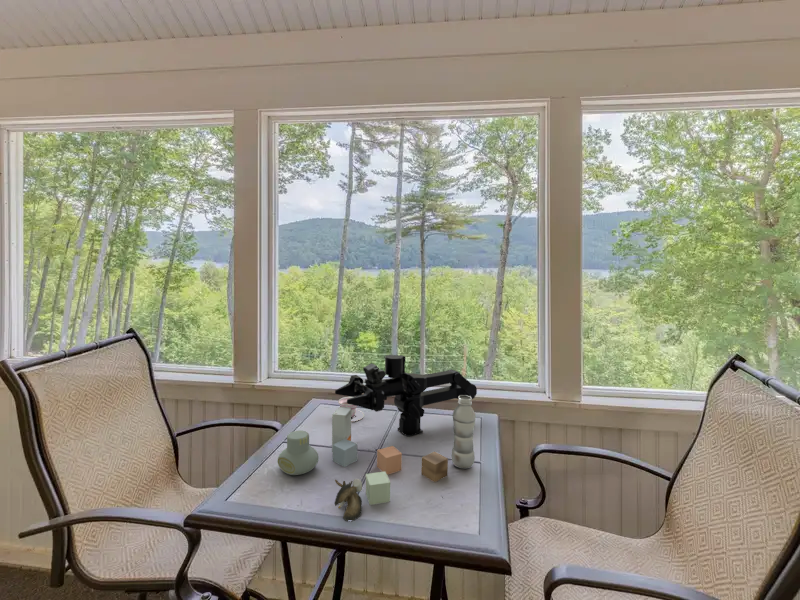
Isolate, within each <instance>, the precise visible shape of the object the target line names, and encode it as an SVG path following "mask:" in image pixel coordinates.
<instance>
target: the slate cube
mask: <svg viewBox="0 0 800 600" xmlns="http://www.w3.org/2000/svg"><path fill="white" fill-rule="evenodd" d="M356 461H358V443H356V442H354V441H352V440H351V441H349V440H347V439H344V440H342V441H340V442H338V443H335V444H333V452H332V462H334V463H336V464H337V465H340V466H341V467H345V468H346V467H347V466H350V465H351V464H353V463H355V462H356Z"/></svg>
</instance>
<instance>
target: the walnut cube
mask: <svg viewBox="0 0 800 600" xmlns="http://www.w3.org/2000/svg"><path fill="white" fill-rule="evenodd" d="M448 469H449V458H448V457H447V456H445V455H442V454H441V453H439V452H436V451H433V452H430V453H428V454H425V455H424V456H422V457H421V471H420V472H421V473H420V474H421V476H423V477H424V478H426V479H428V480H430V481H432V482H433V483H437V482H438V481H440V480H442V479H444V478H446V477H448V471H449V470H448Z"/></svg>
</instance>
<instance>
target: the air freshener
mask: <svg viewBox="0 0 800 600" xmlns="http://www.w3.org/2000/svg"><path fill="white" fill-rule="evenodd" d="M278 455H279V456H278V457H277V464H278V467H279V469H281V471H282V472H283V473H285V474H287V475H290V476H299V475H303V474H307V473H309V472H310V471H312V470H313V469H314V468H316V467H317V464H318V463H319V459H320V458H319V453H318V452H317V450H316V449H315V448H314V447H313V446H311V445H310V433H309V432H308V431H306V430H295V431H294V430H293V431H291V432H289V433H288V434H287V436H286V448H284V449H283V450H282V451H281V452H280V454H278Z"/></svg>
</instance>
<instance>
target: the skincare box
mask: <svg viewBox="0 0 800 600" xmlns="http://www.w3.org/2000/svg"><path fill="white" fill-rule="evenodd" d="M331 418H332V419H331V422H332V423H331V429H332V430H331V453H333V444H335V443H338V442H340V441H342V440H344V439H347V440H349V441H352V422H351V408H342V407H340V406H339V407H338V408H337V409H336V410H334V412H333V413H332V414H331Z"/></svg>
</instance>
